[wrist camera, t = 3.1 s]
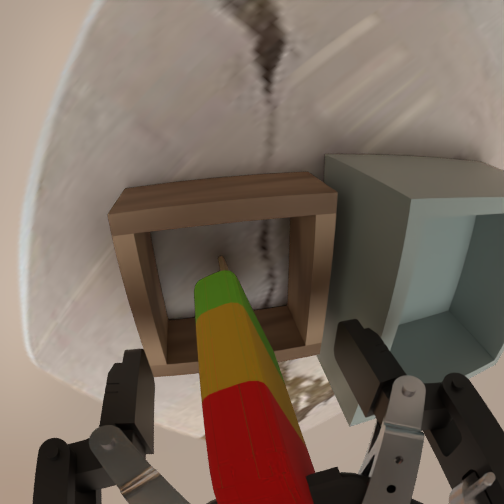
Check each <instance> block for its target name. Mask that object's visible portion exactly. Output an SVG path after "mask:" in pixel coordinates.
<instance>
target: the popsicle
mask: <svg viewBox="0 0 504 504" xmlns="http://www.w3.org/2000/svg"><path fill="white" fill-rule="evenodd" d="M218 261H219V266H220V271H219V272H216V273H214V274H212V275H209V276H207V277H204V278H203V279H201V280H199V281H198V282H197V284H196V285H195V289H194V301H195V319H196V336H197V350H198V363H199V376H200V387H201V398H202V408H203V418H204V427H205V436H206V445H207V452H208V460H209V469H210V475H211V480H212V485H213V490H214V494H215V497H216V500H217V503H218V504H314V503H313V500H312V497H311V494H310V490H309V486H308V483H307V480H306V476H308V475H310V474H313V473H315V471H314V467H313V465H312V462H311V459H310V456H309V453H308V450H307V447H306V444H305V441H304V439H303V436H302V433H301V430H300V427H299V424H298V421H297V418H296V415H295V412H294V409H293V406H292V403H291V401H290V398H289V395H288V392H287V389H286V386H285V383H284V380H283V377H282V374H281V371H280V368H279V365H278V362H277V359H276V356H275V353H274V351H273V349H272V347H271V345H270V343H269V341H268V339H267V337H266V335H265V333H264V331H263V329H262V327H261V325H260V323H259V321H258V319H257V317H256V315H255V313H254V311H253V309H252V307H251V305H250V303H249V301H248V299H247V297H246V295H245V293H244V291H243V289H242V287H241V285H240V283H239V281H238V279H237V277H236V275H235V274H234V273H232V272H231V271H229V270H228V266H227V264H226V262H225V260H224V258H223V256H220V257H218Z"/></svg>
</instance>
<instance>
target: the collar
mask: <svg viewBox="0 0 504 504" xmlns="http://www.w3.org/2000/svg"><path fill="white" fill-rule="evenodd" d="M337 197H338V192H336V191H335V190H334V189H332V188H331V187H329V186H328V185H326V184H325V183H324V182H322V181H321V180H319V179H318V178H316V177H315V176H313V175H312V174H310V173H309V172H291V173H272V174H257V175H243V176H231V177H219V178H208V179H198V180H189V181H180V182H171V183H163V184H155V185H147V186H140V187H133V188H126V189H125V190H124V191H123V192H122V194H121V195H120V197H119V198H118V200H117V201H116V203H115V204H114V206H113V207H112V209H111V210H110V212H109V213H108V220H109V225H110V229H111V234H112V239H113V243H114V247H115V251H116V256H117V260H118V264H119V268H120V272H121V275H122V279H123V283H124V286H125V290H126V294H127V297H128V301H129V304H130V307H131V311H132V314H133V317H134V321H135V324H136V327H137V330H138V333H139V336H140V339H141V342H142V345H143V348H144V351H145V354H146V356H147V359H148V362H149V365H150V368H151V370H152V373H153V376H154V377H161V376H174V375H185V374H195V373H199V363H198V350H197V336H196V319H195V318H187V319H177V320H168V317H167V313H166V308H165V304H164V299H163V295H162V290H161V286H160V281H159V276H158V271H157V266H156V261H155V256H154V251H153V245H152V240H151V234H150V232H151V231H159V230H168V229H177V228H186V227H195V226H204V225H213V224H223V223H233V222H243V221H253V220H264V219H275V218H286V217H290V247H289V279H288V305H287V306H281V307H274V308H267V309H260V310H253V311H254V313H255V315H256V317H257V319H258V321H259V323H260V325H261V327H262V329H263V331H264V333H265V335H266V337H267V339H268V341H269V343H270V345H271V347H272V349H273V351H274V353H275V356H276V359H277V362H282V361H287V360H293V359H298V358H303V357H308V356H313V355H318V354H320V350H321V343H322V337H323V330H324V323H325V316H326V308H327V301H328V293H329V284H330V276H331V267H332V257H333V247H334V236H335V224H336V211H337Z"/></svg>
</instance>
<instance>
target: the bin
mask: <svg viewBox="0 0 504 504" xmlns="http://www.w3.org/2000/svg"><path fill="white" fill-rule="evenodd" d="M324 183H325V184H326V185H328V186H329V187H331V188H332V189H334V190H335V191H336V192H338V197H337V211H336V224H335V236H334V247H333V257H332V267H331V276H330V284H329V293H328V301H327V308H326V316H325V323H324V330H323V337H322V343H321V350H320V354H318V355H317V357H318V360H319V362H320V364H321V366H322V368H323V370H324V372H325V374H326V377H327V379H328V381H329V383H330V385H331V387H332V390H333V392H334V394H335V396H336V398H337V400H338V402H339V405H340V407H341V409H342V411H343V413H344V415H345V418H346V420H347V422H348V424H349V426H353V425H357V424H360V423H363V422H366V421H369V420H372V419H375V418H376V417H375V415H373V416H370V417H367V418H365V416H364V414H363V412H362V410H361V408H360V406H359V404H358V402H357V400H356V398H355V396H354V394H353V393H352V391H351V389H350V387H349V385H348V383H347V381H346V379H345V377H344V375H343V373H342V371H341V370H340V368H339V366H338V364H337V362H336V360H335V356H334V343H335V338H336V332H337V326H338V323H339V322H341V321H346V320H351V319H357V320H358V321H359V322H360V324H361V325H362V326H363V328H364V329H365V328H370V329H371V330H373V331H374V332H376V333H377V334H378V335H379V336H380V337H381V339H382V340H383V342H384V344H386V346H387V347H388V349H389V351H391V353H392V354H393V356H394V357H395V359H396V360H397V361H398V363H399V364H400V366H401V367H402V369H403V370H404V372H405V373H406V374H407V375H409V376H414V377H416V378H418V379H420V380H421V381H422V382H423V383H438V382H442V381H443V379H444V377H445V376H446V375H447V374H449V373H460V374H463V375H464V376H466V377H467V378H468V379H469V378H471V377H473V376H475V375H477V374H479V373H480V372H482V371H484V370H486V369H488V368H490V367H491V366H493V365H495V364H496V363H497V361H498V359H499V358H500V356H501V354H502V352H503V351H504V171H503V170H501V169H498V168H496V167H493V166H491V165H489V164H486V163H483V162H478V161H469V160H459V159H448V158H436V157H421V156H403V155H377V154H325V164H324Z"/></svg>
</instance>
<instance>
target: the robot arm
mask: <svg viewBox="0 0 504 504" xmlns="http://www.w3.org/2000/svg"><path fill="white" fill-rule="evenodd" d="M334 356H335V360H336V362H337V364H338V366H339V368H340V370H341V371H342V373H343V375H344V377H345V379H346V381H347V383H348V385H349V387H350V389H351V391H352V393H353V394H354V396H355V398H356V400H357V402H358V404H359V406H360V408H361V410H362V412H363V414H364V416H365V418H367V417H370V416H373V415H375V417H376V419H377V420H376V423H375V426H374V430H373V433H372V436H371V440H370V443H369V446H368V450H367V453H366V456H365V459H364V461H363V463H362V466H361V468H360V470H359V472H358V474H356V473H346V472H341V473H340V472H339V470H338V467H334V468H331V469H328V470H324V471H320V472H317V473H313V474H310V475H308V476H306V480H307V483H308V486H309V490H310V494H311V497H312V500H313V503H314V504H423V503H420V502H418V501H416V500H414V499H412V494H413V491H414V486H415V482H416V478H417V473H418V468H419V464H420V459H421V453H422V448H423V442H424V434H425V436H426V438H427V439H428V441H429V443H430V445H431V447H432V449H433V451H434V453H435V455H436V457H437V459H438V461H439V463H440V465H441V467H442V469H443V471H444V474H445V476H446V478H447V480H448V482H449V484H450V486H451V488H452V491H451V493H450V495H449V504H504V431H503V430H502V428H501V427H500V425H499V423H498V422H497V420H496V419H495V417H494V416H493V414H492V413H491V411H490V410H489V408H488V407H487V405H486V404H485V402H484V401H483V399H482V398H481V396H480V395H479V393H478V392H477V390H476V389H475V388H474V386H473V385H472V383H471V382H470V380H469V379H468V378H467V377H466V376H464V375H463V374H460V373H449V374H447V375H446V376H445V377H444V379H443V381H442V382H438V383H423V382H422V381H421V380H420V379H418V378H416V377H414V376H409V375H407V374H406V373H405V372H404V370H403V369H402V367H401V366H400V364H399V363H398V361H397V360H396V359H395V357H394V356H393V354H392V353H391V351H389V349H388V347H387V346H386V344H384V342H383V340H382V339H381V337H380V336H379V335H378V334H377V333H376V332H374V331H373V330H371V329H370V328H365V329H364V328H363V326H362V325H361V324H360V322H359V321H358V320H357V319H351V320H346V321H341V322H339V323H338V326H337V332H336V338H335V343H334ZM106 384H107V385H106V388H105V394H104V400H103V406H102V413H101V420H100V425H99V428H97V429H95V430H94V431H93V432H92V434H91V436H90V438H88V439H86V440H83V441H79V442H75V443H71V444H67V443H66V442H65V441H63V440H61V439H59V438H51V439H48V440H46V441H45V442H44V443H43V444H42V445H41V447H40V449H39V452H38V458H37V466H36V473H35V483H34V493H33V504H101V489H102V488H106V487H110V486H114V485H117V487H118V488H119V489H120V492H121V494H122V495H123V497H124V498H125V499H126V501H127V502H128V503H129V504H190V503H189V502H188V501H187V500H186V499H185V498H184V497H183V496H182V495H181V494H180V493H179V492H177V491H176V489H175V488H173V487H172V485H170V484H169V483H168V481H167V480H166V479H165V478H164V477H163V476H162V475H161V474H160V473H159V472H158V471H157V470H156V469H154V468H153V467H152V466H151V465H150V464H149V463H148V462H147V460H146V454H154V395H155V383H154V377H153V373H152V370H151V368H150V365H149V362H148V359H147V356H146V354H145V351H144V349H133V350H125V352H124V357H123V363H115V364H114V365H113V367H112V368H111V370H110V371H109V373H108V377H107V383H106ZM422 430H423V432H424V433H423V432H421V431H422ZM207 504H218V503H217V500H216V499H214V500H212V501H210V502H209V503H207Z"/></svg>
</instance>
